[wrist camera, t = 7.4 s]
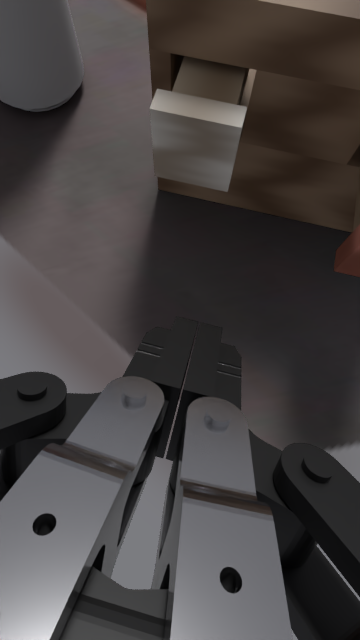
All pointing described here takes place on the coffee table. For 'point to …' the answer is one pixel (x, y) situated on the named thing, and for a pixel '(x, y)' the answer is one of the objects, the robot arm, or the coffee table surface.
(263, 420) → the coffee table surface
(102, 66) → the coffee table surface
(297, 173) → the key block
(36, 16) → the can
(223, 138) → the key cream
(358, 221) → the key red
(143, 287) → the coffee table surface
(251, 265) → the coffee table surface
